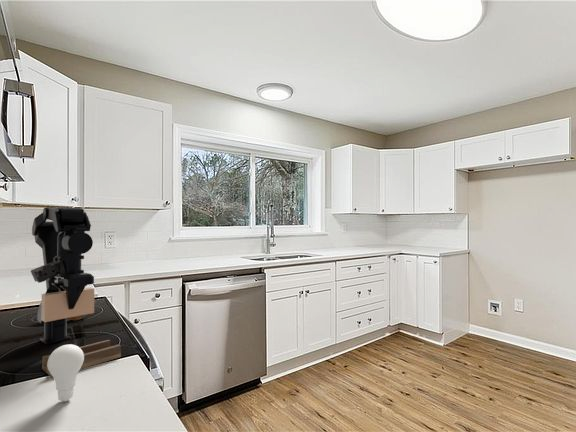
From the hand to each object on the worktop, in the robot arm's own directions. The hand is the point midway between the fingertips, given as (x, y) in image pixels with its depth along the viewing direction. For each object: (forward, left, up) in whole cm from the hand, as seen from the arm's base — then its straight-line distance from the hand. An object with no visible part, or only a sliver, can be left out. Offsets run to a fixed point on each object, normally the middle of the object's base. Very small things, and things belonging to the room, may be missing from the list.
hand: (68, 308), depth 94 cm
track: (+12, 0, -12) cm, 17 cm away
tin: (-36, +11, -12) cm, 40 cm away
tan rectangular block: (0, 0, -2) cm, 2 cm away
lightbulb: (+30, -10, -12) cm, 34 cm away
